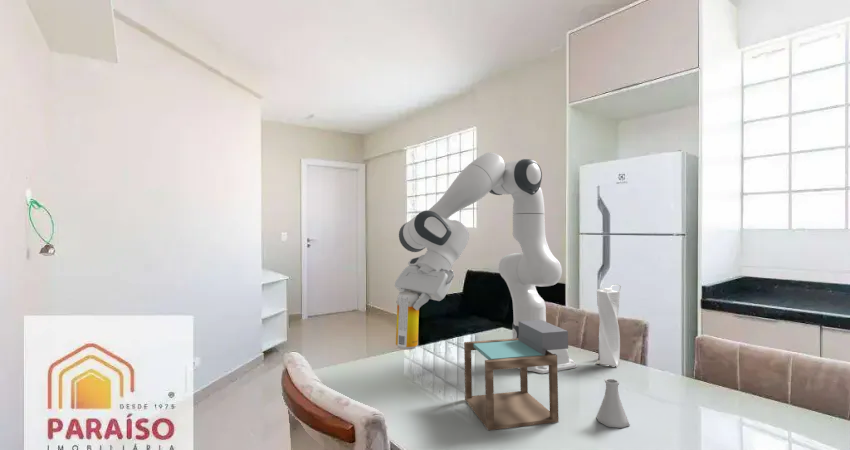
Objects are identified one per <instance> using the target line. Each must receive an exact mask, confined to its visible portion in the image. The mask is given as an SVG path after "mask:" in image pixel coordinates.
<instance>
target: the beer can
mask: <svg viewBox="0 0 850 450" xmlns="http://www.w3.org/2000/svg"><path fill="white" fill-rule="evenodd" d="M419 298H420V297H419V295H418V293H417V292H400V291H399V292H398V296H397V300H398V301H397V300H396V301H397V303H396V307H397V308H396V328H395V329H396V331H395V332H396V333H395V346H397V348H398V349H400V350H406V351H407V350H409V351H411V350H414V349H416V347H417V346H418V344H419V324H420V323H419V319H420V309H419V310H414V309H413V308H412V307H411V305H412V304H413V302H414V301H417V300H418V299H419Z"/></svg>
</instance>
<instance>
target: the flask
mask: <svg viewBox="0 0 850 450" xmlns="http://www.w3.org/2000/svg"><path fill="white" fill-rule="evenodd" d="M604 382H605V393H604V396H603V399H602V401H601V404H600V407H599V409H598V411H597V414H596V419H597V421H598V422H599V423H601V424H603V425H604V426H606V427H609V428H618V429H619V428H625V427H630V425H631V424H630V422H629V419H628V416H627V414H626V412H625V409H624V406H623V403H622V401H621V397H620V393H619V385H620V382H619V380H617V379H615V378H605V379H604Z"/></svg>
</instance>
